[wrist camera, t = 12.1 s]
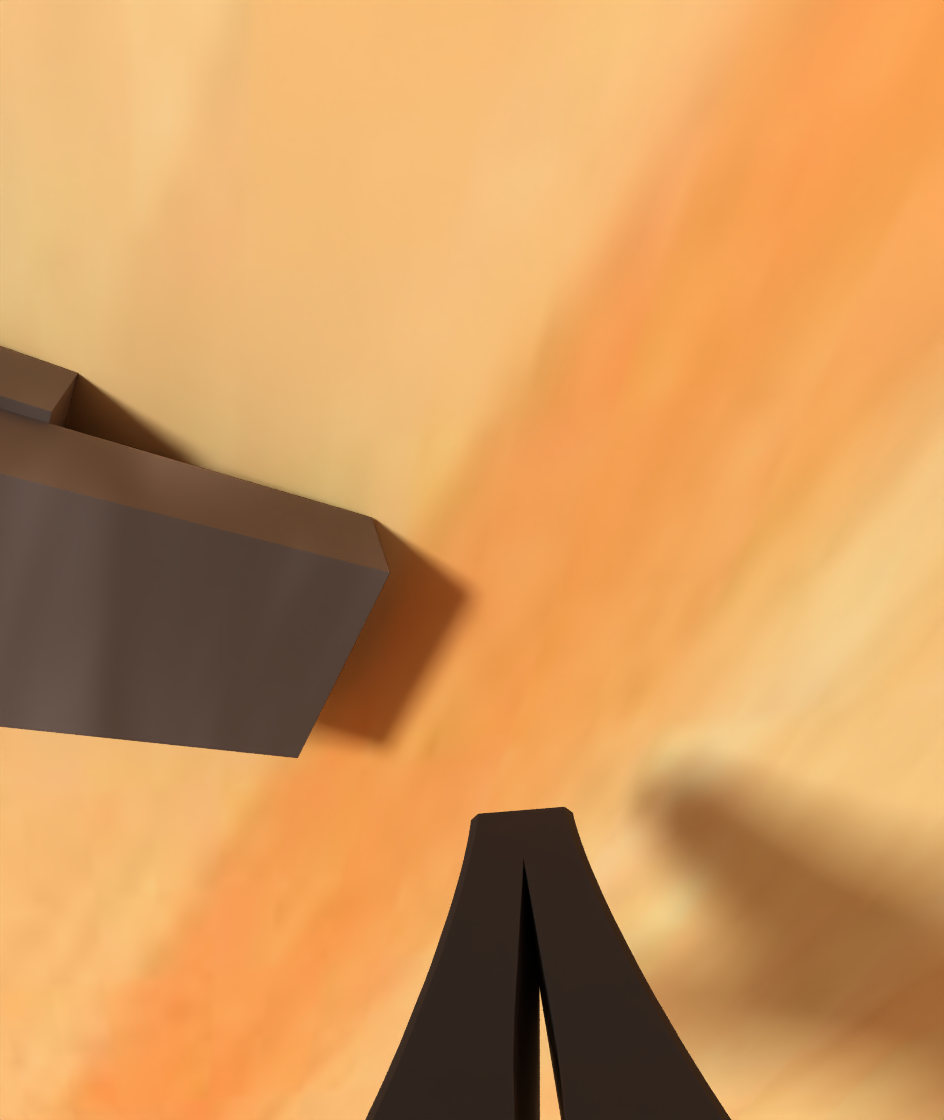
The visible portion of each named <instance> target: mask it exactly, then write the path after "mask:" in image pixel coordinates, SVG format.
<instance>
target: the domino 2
mask: <svg viewBox="0 0 944 1120" xmlns="http://www.w3.org/2000/svg"><path fill="white" fill-rule="evenodd" d="M389 573H390V571H389V568H388V565H387V562H386V559H385V556H384V553H383V550H382V547H381V544H380V541H379V538H378V535H377V531H376V528H375V525H374V522H373V519H372V517H368V516H365V515H361V514H358V513H355V512H351V511H348V510H344V509H341V508H337V507H334V506H331V505H327V504H324V503H320V502H317V501H313V500H310V499H307V498H303V497H300V496H296V495H293V494H290V493H286V492H283V491H279V490H276V489H272V488H269V487H266V486H262V485H259V484H255V483H252V482H248V481H245V480H242V479H238V478H235V477H231V476H228V475H225V474H221V473H218V472H214V471H211V470H207V469H204V468H201V467H197V466H194V465H190V464H187V463H183V462H180V461H177V460H173V459H170V458H166V457H163V456H160V455H156V454H153V453H149V452H146V451H142V450H139V449H136V448H132V447H129V446H125V445H122V444H119V443H115V442H112V441H108V440H105V439H101V438H98V437H95V436H91V435H88V434H84V433H81V432H77V431H74V430H71V429H67V428H64V427H60V426H57V425H54V424H50V423H47V422H43V421H40V420H36V419H33V418H30V417H26V416H23V415H19V414H16V413H12V412H9V411H6V410H2V409H0V727H9V728H18V729H27V730H37V731H46V732H56V733H65V734H75V735H84V736H94V737H103V738H113V739H122V740H132V741H141V742H151V743H160V744H170V745H179V746H189V747H198V748H208V749H217V750H226V751H236V752H245V753H255V754H264V755H274V756H283V757H293V758H298V756H299V754H300V752H301V750H302V748H303V746H304V744H305V742H306V740H307V738H308V736H309V734H310V732H311V730H312V728H313V726H314V724H315V722H316V720H317V718H318V716H319V714H320V712H321V710H322V708H323V706H324V704H325V702H326V700H327V698H328V696H329V694H330V692H331V690H332V688H333V686H334V684H335V682H336V680H337V678H338V676H339V674H340V672H341V670H342V668H343V666H344V664H345V662H346V660H347V658H348V656H349V654H350V652H351V650H352V648H353V646H354V644H355V642H356V640H357V638H358V636H359V634H360V632H361V630H362V628H363V626H364V624H365V622H366V620H367V617H368V615H369V613H370V611H371V609H372V607H373V605H374V603H375V601H376V599H377V597H378V595H379V593H380V591H381V589H382V587H383V585H384V583H385V581H386V579H387V577H388V575H389Z"/></svg>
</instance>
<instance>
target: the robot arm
mask: <svg viewBox="0 0 944 1120" xmlns="http://www.w3.org/2000/svg"><path fill="white" fill-rule="evenodd" d="M539 987H540V993H541V1000H542V1006H543V1012H544V1018H545V1024H546V1030H547V1036H548V1042H549V1048H550V1055H551V1061H552V1067H553V1073H554V1079H555V1085H556V1091H557V1097H558V1103H559V1109H560V1116H561V1120H731V1119H730V1117H729V1116H728V1114H727V1113H726V1111H725V1110H724V1108H723V1107H722V1105H721V1104H720V1102H719V1100H718V1099H717V1097H716V1096H715V1094H714V1093H713V1091H712V1090H711V1088H710V1087H709V1085H708V1083H707V1082H706V1080H705V1079H704V1077H703V1075H702V1074H701V1072H700V1071H699V1069H698V1067H697V1066H696V1064H695V1063H694V1061H693V1059H692V1058H691V1056H690V1054H689V1053H688V1051H687V1050H686V1048H685V1046H684V1045H683V1043H682V1041H681V1040H680V1038H679V1036H678V1035H677V1033H676V1031H675V1030H674V1028H673V1026H672V1024H671V1023H670V1021H669V1019H668V1017H667V1016H666V1014H665V1012H664V1011H663V1009H662V1007H661V1005H660V1004H659V1002H658V1000H657V999H656V997H655V995H654V993H653V991H652V990H651V988H650V986H649V984H648V982H647V981H646V979H645V977H644V975H643V973H642V971H641V970H640V968H639V966H638V964H637V962H636V960H635V958H634V956H633V954H632V952H631V950H630V949H629V947H628V945H627V943H626V941H625V939H624V937H623V935H622V933H621V931H620V929H619V927H618V925H617V923H616V921H615V919H614V917H613V915H612V913H611V911H610V909H609V907H608V905H607V903H606V900H605V898H604V896H603V894H602V892H601V889H600V887H599V885H598V883H597V880H596V878H595V876H594V873H593V871H592V869H591V866H590V864H589V861H588V859H587V856H586V854H585V851H584V848H583V845H582V843H581V840H580V837H579V834H578V831H577V827H576V824H575V820H574V816H573V813H572V812H571V811H570V810H568V809H567V808H565V807H557V808H545V809H532V810H520V811H507V812H495V813H482V814H477V815H476V816H475V817H474V818H473V819H472V820H471V825H470V831H469V837H468V842H467V847H466V852H465V856H464V860H463V865H462V868H461V872H460V876H459V880H458V883H457V887H456V890H455V894H454V897H453V900H452V904H451V907H450V910H449V913H448V916H447V919H446V922H445V925H444V928H443V931H442V934H441V937H440V940H439V943H438V946H437V949H436V952H435V955H434V958H433V961H432V963H431V966H430V969H429V972H428V974H427V977H426V980H425V982H424V985H423V987H422V990H421V992H420V995H419V997H418V1000H417V1002H416V1005H415V1007H414V1010H413V1012H412V1015H411V1017H410V1020H409V1022H408V1025H407V1027H406V1030H405V1032H404V1035H403V1037H402V1040H401V1042H400V1044H399V1047H398V1049H397V1052H396V1054H395V1056H394V1058H393V1061H392V1063H391V1065H390V1067H389V1070H388V1072H387V1074H386V1077H385V1079H384V1081H383V1083H382V1085H381V1088H380V1090H379V1092H378V1094H377V1096H376V1099H375V1101H374V1103H373V1105H372V1107H371V1109H370V1111H369V1113H368V1115H367V1118H366V1120H540V999H539Z"/></svg>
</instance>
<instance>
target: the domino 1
mask: <svg viewBox="0 0 944 1120" xmlns="http://www.w3.org/2000/svg"><path fill="white" fill-rule="evenodd" d="M77 375H78V373H76V372H74V371H71V370H68V369H65V368H62V367H59V366H56V365H53V364H50V363H48V362H45V361H42V360H39V359H36V358H33V357H30V356H27V355H24V354H22V353H19V352H16V351H13V350H10V349H7V348H4V347H1V346H0V409H2V410H6V411H9V412H12V413H16V414H19V415H23V416H26V417H30V418H33V419H36V420H40V421H43V422H47V423H50V424H54V425H57V426H60V427H64V428H65V424H66V420H67V416H68V412H69V408H70V404H71V400H72V395H73V391H74V387H75V383H76V379H77Z"/></svg>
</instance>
